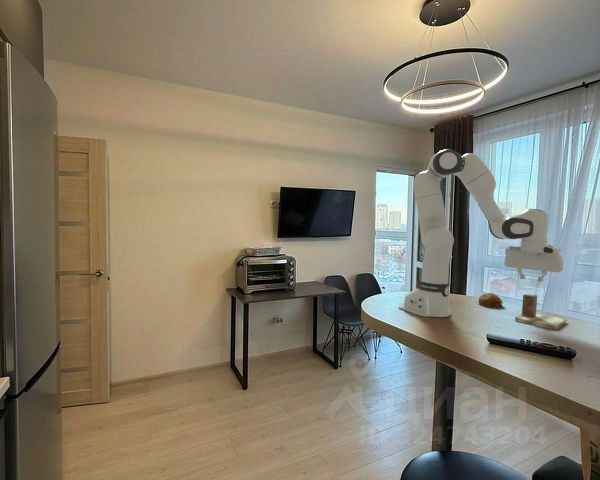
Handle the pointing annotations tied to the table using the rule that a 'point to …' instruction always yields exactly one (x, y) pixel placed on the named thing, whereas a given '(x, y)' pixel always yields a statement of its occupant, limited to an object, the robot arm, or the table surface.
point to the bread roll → (490, 300)
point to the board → (542, 321)
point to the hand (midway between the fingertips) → (531, 280)
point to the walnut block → (529, 305)
